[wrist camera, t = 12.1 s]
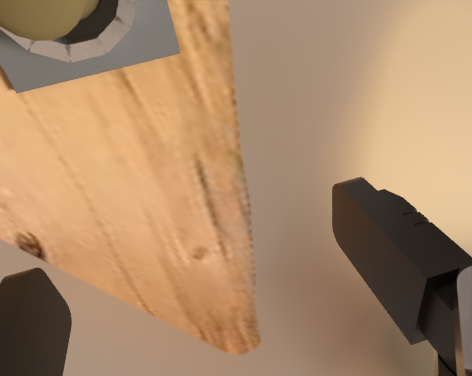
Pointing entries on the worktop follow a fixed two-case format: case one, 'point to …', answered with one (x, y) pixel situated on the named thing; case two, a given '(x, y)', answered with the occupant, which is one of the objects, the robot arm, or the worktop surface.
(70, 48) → the ring collar
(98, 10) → the fitting mat
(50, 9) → the cork
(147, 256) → the worktop surface
